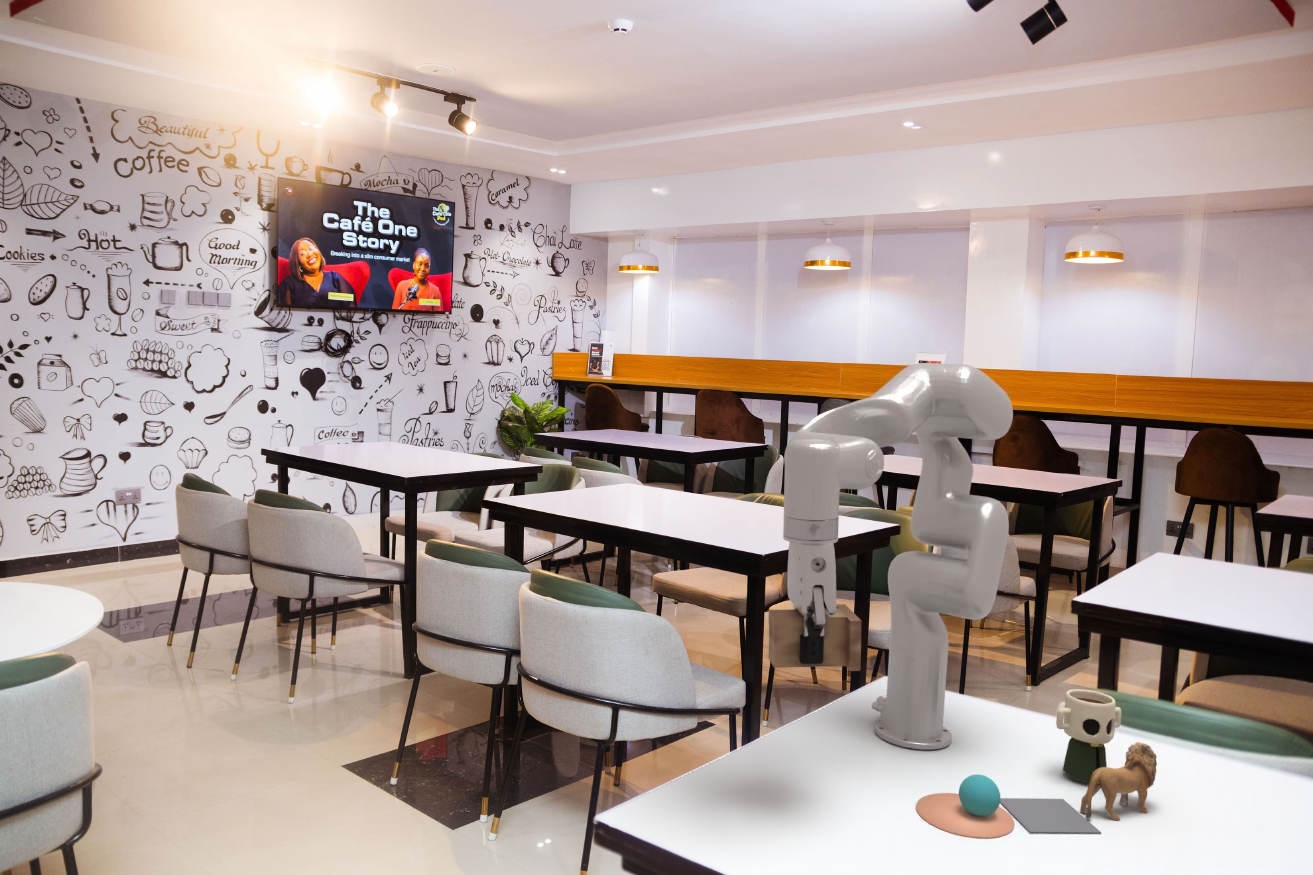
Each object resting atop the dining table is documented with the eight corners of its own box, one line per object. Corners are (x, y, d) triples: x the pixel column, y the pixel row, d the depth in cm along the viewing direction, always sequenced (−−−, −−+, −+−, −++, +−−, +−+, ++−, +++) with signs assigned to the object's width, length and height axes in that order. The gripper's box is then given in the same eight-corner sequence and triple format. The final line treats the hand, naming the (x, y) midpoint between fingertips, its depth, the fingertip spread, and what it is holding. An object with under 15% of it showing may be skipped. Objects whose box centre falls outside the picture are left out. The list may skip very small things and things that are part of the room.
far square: (1030, 833, 124) (1030, 831, 124) (996, 799, 134) (996, 798, 134) (1101, 833, 125) (1101, 832, 125) (1062, 800, 135) (1062, 798, 135)
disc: (896, 804, 131) (896, 803, 131) (959, 787, 137) (959, 786, 137) (970, 846, 120) (970, 845, 120) (1034, 825, 126) (1034, 824, 126)
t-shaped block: (777, 672, 125) (778, 622, 124) (765, 653, 133) (766, 605, 132) (860, 670, 126) (861, 620, 125) (844, 651, 134) (845, 604, 133)
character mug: (1066, 789, 138) (1073, 705, 138) (1039, 769, 145) (1045, 689, 145) (1131, 787, 140) (1138, 703, 140) (1100, 767, 147) (1106, 688, 147)
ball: (1004, 778, 130) (994, 815, 130) (965, 764, 132) (955, 800, 132) (1005, 789, 125) (994, 828, 125) (963, 774, 127) (953, 812, 127)
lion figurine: (1127, 793, 138) (1132, 734, 138) (1163, 807, 134) (1168, 747, 133) (1070, 814, 130) (1074, 752, 130) (1106, 831, 126) (1111, 766, 125)
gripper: (854, 541, 120) (850, 678, 121) (822, 517, 136) (818, 637, 138) (797, 541, 119) (794, 679, 121) (771, 517, 136) (769, 638, 137)
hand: (807, 655), depth 129 cm, fingers closed on t-shaped block, 4 cm apart
